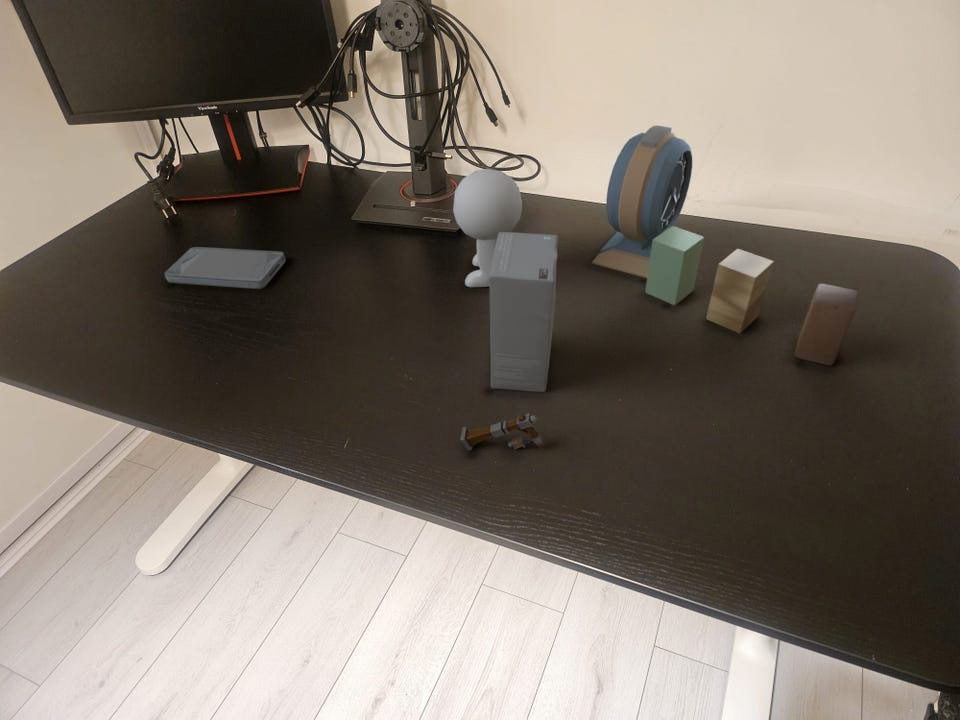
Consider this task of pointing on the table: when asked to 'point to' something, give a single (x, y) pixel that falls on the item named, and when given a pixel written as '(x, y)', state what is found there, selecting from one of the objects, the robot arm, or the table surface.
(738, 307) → the line block
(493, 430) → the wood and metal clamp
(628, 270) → the alarm clock
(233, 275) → the phone
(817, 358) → the wooden block
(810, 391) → the table surface
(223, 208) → the table surface
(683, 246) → the line block
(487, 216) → the toy character
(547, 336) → the cosmetic box
